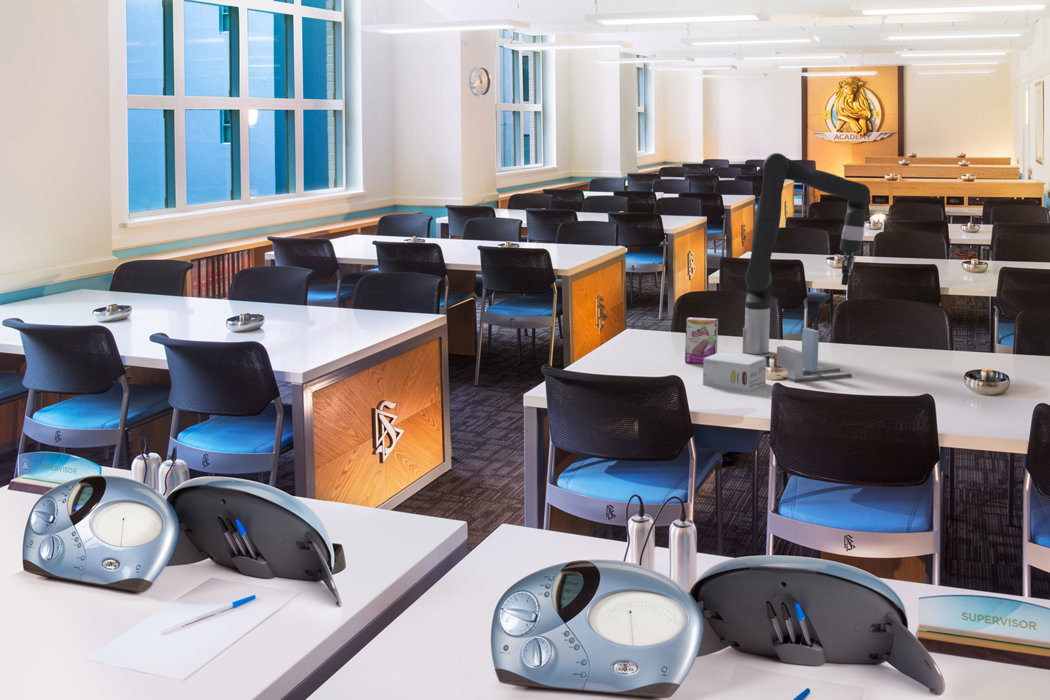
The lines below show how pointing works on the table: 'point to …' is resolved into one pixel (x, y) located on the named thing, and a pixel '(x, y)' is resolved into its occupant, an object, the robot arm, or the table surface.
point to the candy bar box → (700, 339)
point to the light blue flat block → (810, 349)
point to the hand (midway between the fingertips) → (844, 285)
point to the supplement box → (734, 371)
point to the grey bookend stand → (794, 367)
